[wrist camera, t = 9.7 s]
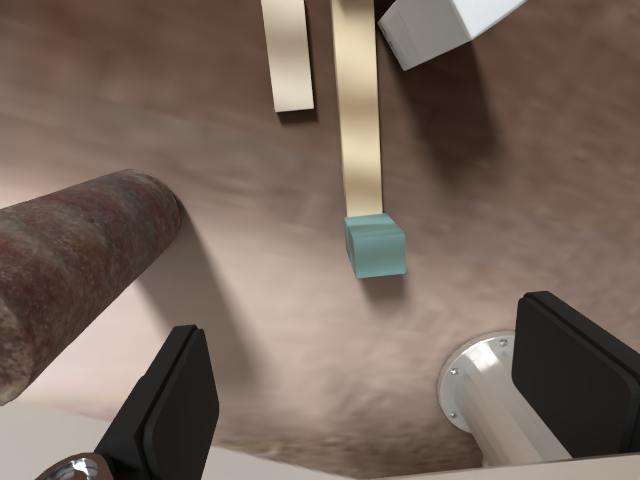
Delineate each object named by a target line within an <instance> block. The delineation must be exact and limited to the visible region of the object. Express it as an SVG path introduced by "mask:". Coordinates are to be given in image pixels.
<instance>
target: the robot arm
mask: <svg viewBox="0 0 640 480" xmlns="http://www.w3.org/2000/svg"><path fill="white" fill-rule="evenodd" d="M437 397H438V401H439V403H440V406H441V408H442V410H443V412H444V414H445V416H446V417H447V418H448V419H449V421H450V422H451V423H452V424H454V425H455V426H456V427H458V428H459V429H461V430H463V431H466V432H468V433H472V435H473V437H474V438H475V440H476V442H477V444H478V446H479V448H480V449H481V451H482V453H483V459H482V467H480V468H471V469H461V470H451V471H442V472H432V473H423V474H413V475H404V476H395V477H385V478H376V479H367V480H640V354H639V353H637V352H636V351H635V350H633V349H632V348H630V347H629V346H627V345H626V344H624V343H623V342H621V341H620V340H619V339H617V338H616V337H614V336H613V335H611V334H610V333H608V332H607V331H606V330H604V329H603V328H601V327H600V326H598V325H597V324H595V323H594V322H592V321H591V320H590V319H588V318H587V317H585V316H584V315H582V314H581V313H579V312H578V311H576V310H575V309H574V308H572V307H571V306H569V305H568V304H566V303H565V302H563V301H562V300H561V299H559V298H558V297H556V296H555V295H553V294H552V293H550V292H548V291H540V292H529V293H526V294H525V295H524V296H523V298H521V299H519V301H518V308H517V319H516V329H515V332H514V331H498V332H493V333H488V334H484V335H482V336H479V337H477V338H474V339H472V340H471V341H469V342H467V343H466V344H464V345H462V346H461V347H460V348H459V349H458V350H457V351H455V352H454V353H453V354H452V355H451V357H450V358H449V359H448V360H447V361H446V363H445V365H444V366H443V368H442V370H441V372H440V375H439V378H438V383H437ZM218 417H219V401H218V396H217V391H216V386H215V381H214V376H213V372H212V367H211V362H210V357H209V352H208V347H207V342H206V338H205V333H204V330H203V329H198V328H197V326H196V325H185V326H176V327H174V328H173V330H172V331H171V333H170V334H169V336H168V338H167V339H166V341H165V343H164V344H163V346H162V347H161V349H160V351H159V352H158V354H157V355H156V357H155V359H154V360H153V362H152V363H151V365H150V367H149V368H148V370H147V372H146V373H145V375H144V376H142V377H141V378H140V379H139V380H138V382H137V384H136V385H135V387H134V388H133V390H132V391H131V393H130V395H129V396H128V398H127V399H126V401H125V403H124V404H123V406H122V407H121V409H120V410H119V412H118V414H117V415H116V417H115V418H114V420H113V422H112V423H111V425H110V427H109V428H108V430H107V431H106V433H105V434H104V436H103V438H102V439H101V441H100V442H99V444H98V445H97V447H96V449H95V450H94V452H92V453H91V452H90V453H80V454H77V455H73V456H70V457H68V458H65V459H63V460H61V461H59V462H57V463H56V464H54V465H53V466H51V467H49V468H48V469H46V470H45V471H44V472H43V473H42V474H40V475H39V476H38V477H37V478H36V479H35V480H201V477H202V474H203V470H204V467H205V463H206V459H207V456H208V452H209V449H210V445H211V442H212V438H213V435H214V431H215V428H216V424H217V420H218Z"/></svg>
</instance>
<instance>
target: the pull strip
mask: <svg viewBox="0 0 640 480" xmlns="http://www.w3.org/2000/svg"><path fill="white" fill-rule="evenodd" d="M330 5H331V19H332V32H333V46H334V59H335V73H336V86H337V100H338V113H339V127H340V141H341V154H342V168H343V181H344V195H345V208H346V217H344V223H345V237H346V250H347V253H348V256H349V259H350V262H351V265H352V267H353V270H354V273H355V276H356V279H357V278H366V277H375V276H385V275H394V274H403V273H406V262H405V233H404V232H403V231H402V230H401V229H400V228H399V227H398V226H397V225H396V224H395V222H394V221H393V220H392V219H391V218H390V217H389V216H388V215H387V214H386V213H383V214H382V190H381V166H380V142H379V118H378V94H377V70H376V46H375V22H374V0H330Z"/></svg>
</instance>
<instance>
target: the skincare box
mask: <svg viewBox="0 0 640 480" xmlns="http://www.w3.org/2000/svg"><path fill="white" fill-rule="evenodd" d="M526 1H527V0H396V1H395V2H394V3H393V5H392V6H391V7H390V8H389V9H388V11H387V12H386V13H385V14H384V15H383V17H382V18H381V19H380V20H379V21H378V23H377V24H378V26H379V28H380V29H381V31H382V33H383V35H384V37H385V38H386V40H387V42H388V44H389V46H390V47H391V49H392V51H393V53H394V55H395V56H396V58H397V60H398V62H399V64H400V66H401V68H402V69H403V71H406V70H408V69H410V68H412V67H415V66H417V65H419V64H421V63H423V62H425V61H428V60H430V59H432V58H434V57H436V56H438V55H441V54H443V53H445V52H447V51H449V50H451V49H454V48H456V47H458V46H460V45H462V44H464V43H466V42H469V41H471V40H473V39H474V38H476V37H477V36H479V35H480V34H482V33H483V32H485V31H486V30H488V29H489V28H490V27H492V26H493V25H495V24H496V23H498V22H499V21H500V20H502V19H503V18H505V17H506V16H507V15H509V14H510V13H511V12H513V11H514V10H515V9H517V8H518V7H519V6H520V5H522V4H523V3H524V2H526Z"/></svg>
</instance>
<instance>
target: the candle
mask: <svg viewBox="0 0 640 480" xmlns="http://www.w3.org/2000/svg"><path fill="white" fill-rule="evenodd" d="M179 227H180V212H179V209H178V206H177V203H176V200H175V198H174V196H173V194H172V193H171V192H170V191H169V190H168V188H167V187H166V186H165V185H164V184H163V183H162V181H161V180H159V179H158V178H156V177H154V176H152V175H150V174H148V173H145V172H142V171H138V170H134V169H126V170H122V171H118V172H114V173H111V174H108V175H105V176H101V177H98V178H95V179H92V180H89V181H86V182H83V183H81V184H78V185H74V186H71V187H68V188H65V189H62V190H60V191H57V192H54V193H51V194H48V195H44V196H41V197H38V198H35V199H32V200H29V201H26V202H22V203H18V204H15V205H12V206H9V207H6V208H3V209H0V406H3V405H5V404H6V403H8V402H10V401H13V400H14V399H16V398H17V397H18V396H19V395H20V394H21V393H22V392H23V391H24V390H25V389H26V388H27V387H28V386H29V385H30V384H31V383H33V382H34V381H35V379H36V378H37V377H38V376H39V375H40V374H41V373H42V372H43V371H44V370H45V369H46V368H47V367H48V366H49V365H50V364H51V362H52V361H53V360H54V359H55V358H56V357H57V356H58V355H59V354H60V353H61V352H62V351H63V350H64V349H65V348H66V347H67V346H68V345H70V344H71V343H72V342H73V341H74V340H75V339H76V338H77V337H78V336H79V335H80V334H81V333H82V332H83V331H84V330H85V329H86V328H87V327H88V326H89V325H90V324H91V323H92V322H93V321H94V320H95V319H96V318H97V317H98V316H99V315H100V314H101V313H102V312H103V311H104V310H105V309H106V308H107V307H108V306H109V305H110V304H111V303H112V302H113V301H114V300H115V299H116V298H117V297H118V296H119V295H120V294H121V293H122V292H123V291H124V290H125V289H126V288H127V287H128V286H129V285H130V284H131V283H132V282H133V281H134V280H135V279H136V278H137V277H138V276H139V275H140V274H141V273H142V272H143V271H145V270H146V269H147V268H148V267H149V266H150V265H151V264H152V263H153V262H154V261H155V260H156V259H157V258H158V257H159V256H160V255H161V254H162V252H163V251H164V250H165V249H166V248H167V247H168V246H169V245H170V244H171V243H172V241H173V240H174V239H175V237H176V235H177V233H178V230H179Z"/></svg>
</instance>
